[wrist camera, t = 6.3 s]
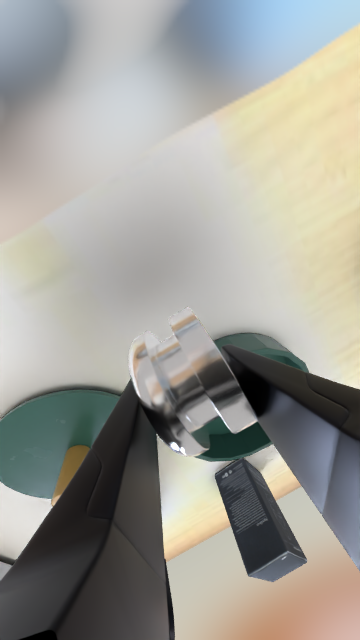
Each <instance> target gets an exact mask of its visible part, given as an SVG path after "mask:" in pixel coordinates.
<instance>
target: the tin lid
mask: <svg viewBox="0 0 360 640" xmlns="http://www.w3.org/2000/svg"><path fill="white" fill-rule="evenodd" d="M119 398H120V396H118V395H115V394H112V393H107V392H103V391H96V390H65V391H59V392H53V393H49V394H45V395H42V396H39V397H36V398H33V399H31V400H28V401H26V402H24V403H23V404H21V405H19V406H17V407H16V408H14V409H13V410H11V411H10V412H8V413H7V414H6V415H5V416H4V417H3V418H2V419H1V420H0V482H2V483H3V484H4V485H6V486H7V487H9V488H11V489H13V490H15V491H18V492H20V493H23V494H26V495H30V496H34V497H39V498H47V499H52V501H51V504H52V506H54V505H55V503H56V502H57V500H58V499H59V497H60V496H61V494H62V493H63V491H64V490H65V488H66V487H67V485H68V484H69V482H70V481H71V479H72V478H73V476H74V474H75V473H76V471H77V470H78V468H79V466H80V465H81V463H82V461H83V460H84V458H85V456H86V455H87V453H88V451H89V449H92V448H91V446H92V444H93V443H94V441H95V439H96V438H97V436H98V434H99V432H100V431H101V429H102V427H103V426H104V424H105V422H106V420H107V419H108V417H109V415H110V414H111V412H112V410H113V408H114V407H115V405H116V403H117V402H118V400H119Z"/></svg>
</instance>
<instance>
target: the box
mask: <svg viewBox="0 0 360 640" xmlns="http://www.w3.org/2000/svg"><path fill="white" fill-rule="evenodd" d="M215 479H216V482H217V485H218V488H219V491H220V494H221V497H222V500H223V503H224V506H225V509H226V512H227V515H228V518H229V521H230V524H231V527H232V530H233V533H234V536H235V539H236V542H237V545H238V548H239V551H240V553H241V556H242V560H243V563H244V565H245V568H246V571H247V574H248V576H249V577H254V578H258V579H262V580H267V581H271V582H274V581H276V580H278V579H279V578H281V577H283V576H284V575H286V574H288V573H289V572H291V571H293V570H295V569H296V568H298V567H300V566H302V565H303V564H305V563H307V559H306V557H305V555H304V553H303V551H302V549H301V548H300V546H299V544H298V542H297V540H296V538H295V536H294V534H293V533H292V531H291V529H290V527H289V525H288V523H287V521H286V520H285V518H284V516H283V514H282V512H281V510H280V508H279V506H278V505H277V503H276V501H275V499H274V497H273V495H272V493H271V491H270V489H269V487H268V486H267V484H266V482H265V480H264V478H263V476H262V474H261V473H260V472H259V471H257V470H256V469H255V468H254V467H253V466H252V465H251V464H249V463H248V462H247V461H246V460H245V459H243V458H240V459H239V460H237V461H235V462H234V463H232V464H231V465H229V466H227V467H226V468H225V469H223V470H222V471H220V472H219V473H217V474H216V475H215Z"/></svg>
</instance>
